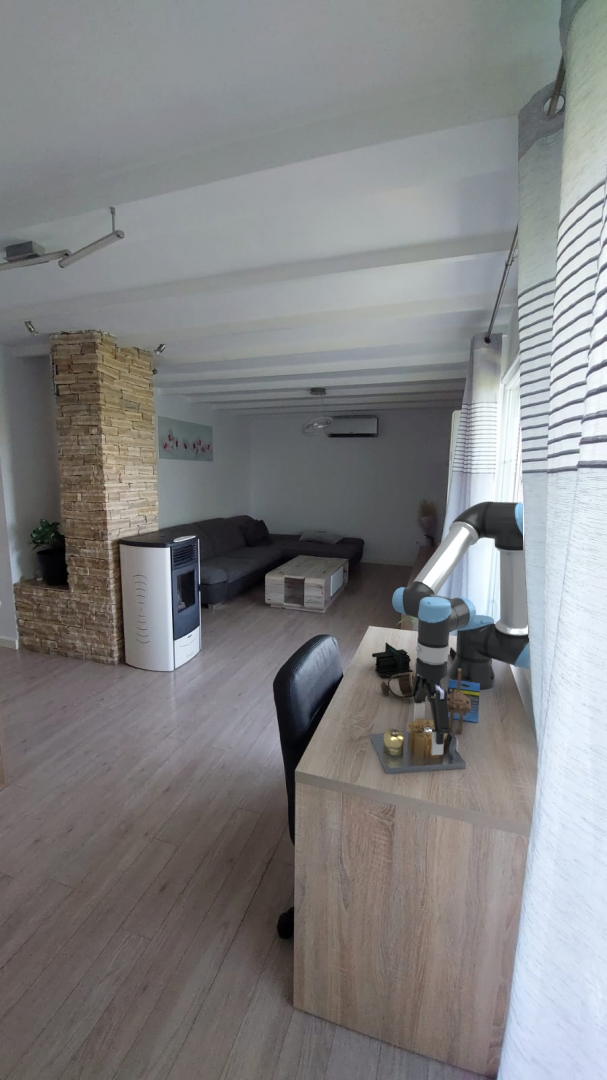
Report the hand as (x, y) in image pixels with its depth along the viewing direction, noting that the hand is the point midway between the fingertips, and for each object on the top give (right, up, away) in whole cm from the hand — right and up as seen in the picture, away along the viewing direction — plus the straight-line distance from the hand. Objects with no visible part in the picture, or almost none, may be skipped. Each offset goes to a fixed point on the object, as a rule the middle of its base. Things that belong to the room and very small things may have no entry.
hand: (427, 739), depth 110 cm
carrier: (-3, -4, 0) cm, 5 cm away
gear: (0, -2, 0) cm, 2 cm away
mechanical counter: (-1, 0, +26) cm, 26 cm away
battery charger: (+34, +3, +58) cm, 67 cm away
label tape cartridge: (+15, -2, +17) cm, 23 cm away
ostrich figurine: (+9, -4, +6) cm, 11 cm away
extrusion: (0, +2, +45) cm, 45 cm away
